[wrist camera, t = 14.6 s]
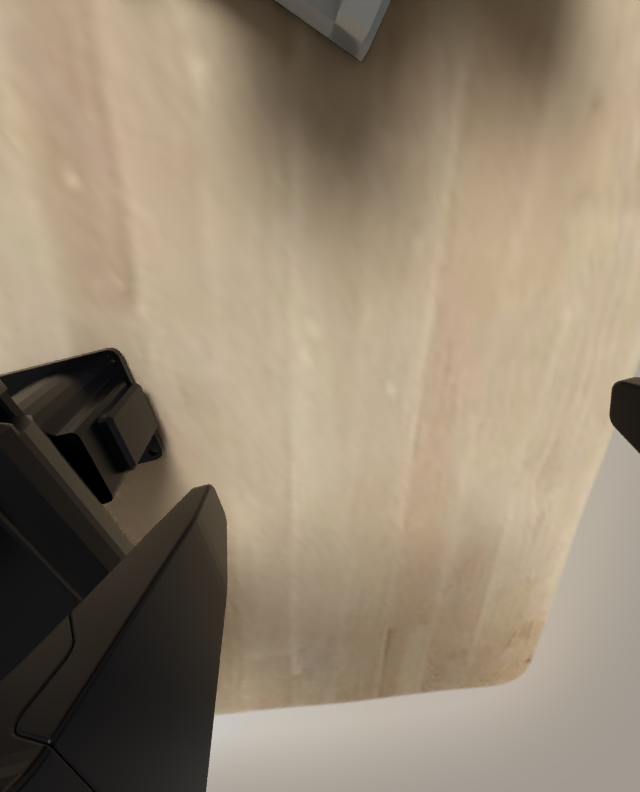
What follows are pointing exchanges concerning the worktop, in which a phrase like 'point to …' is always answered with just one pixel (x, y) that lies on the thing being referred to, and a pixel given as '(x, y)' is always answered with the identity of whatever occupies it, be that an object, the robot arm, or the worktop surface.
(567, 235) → the worktop surface
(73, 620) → the robot arm
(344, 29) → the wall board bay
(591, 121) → the worktop surface
